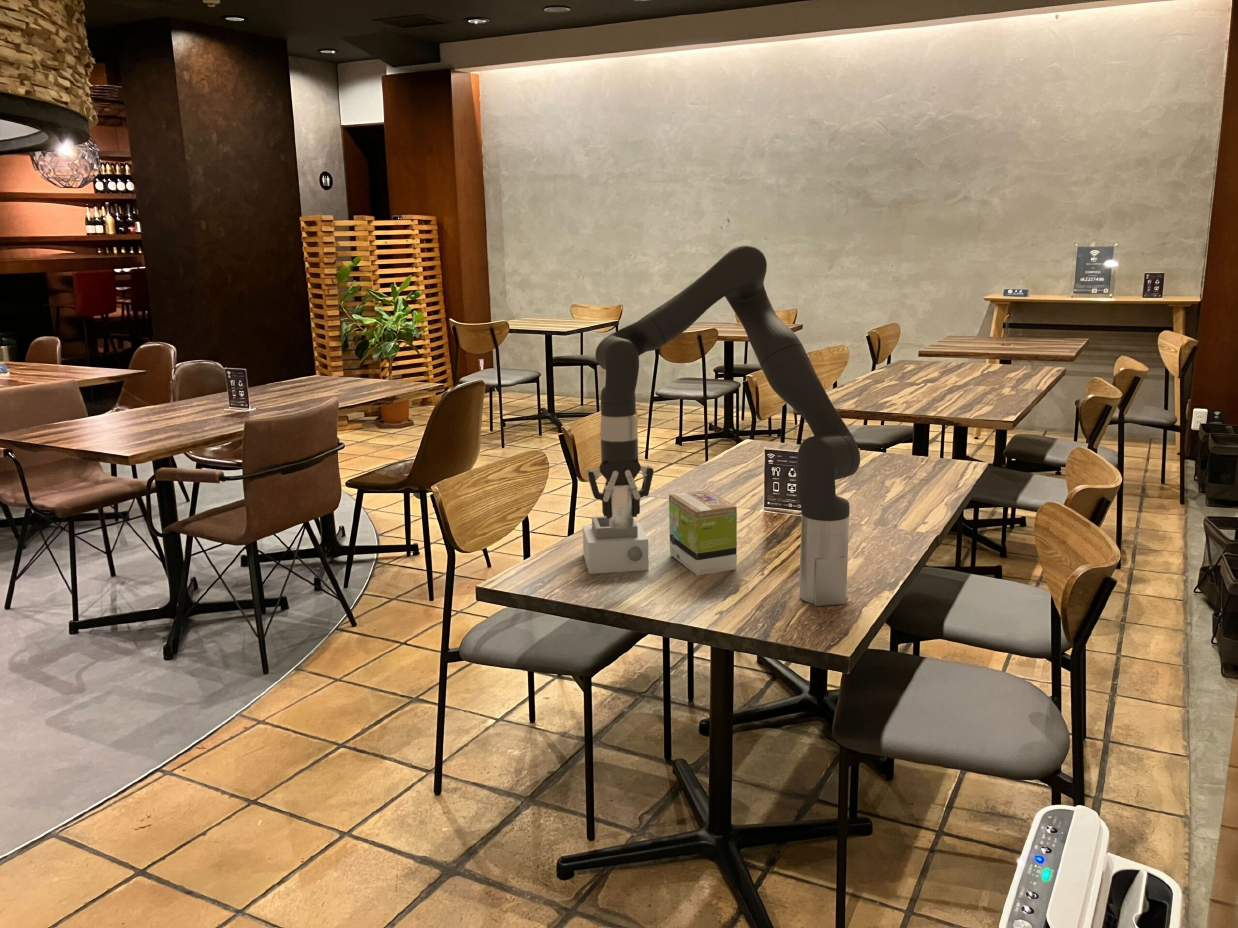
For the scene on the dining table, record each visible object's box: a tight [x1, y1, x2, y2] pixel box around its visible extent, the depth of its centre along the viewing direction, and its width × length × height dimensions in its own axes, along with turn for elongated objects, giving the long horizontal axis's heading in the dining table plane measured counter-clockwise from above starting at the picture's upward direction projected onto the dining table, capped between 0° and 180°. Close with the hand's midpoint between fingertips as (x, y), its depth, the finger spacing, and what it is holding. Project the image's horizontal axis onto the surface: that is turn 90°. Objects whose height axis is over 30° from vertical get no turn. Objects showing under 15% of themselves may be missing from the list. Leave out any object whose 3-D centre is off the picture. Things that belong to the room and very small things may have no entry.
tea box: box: [668, 489, 738, 576], centre depth 214 cm, size 15×10×15 cm, turn 21°
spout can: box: [609, 484, 634, 529], centre depth 200 cm, size 5×5×10 cm
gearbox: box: [582, 515, 650, 575], centre depth 216 cm, size 14×13×10 cm
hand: (621, 516), depth 201 cm, fingers closed on spout can, 5 cm apart
